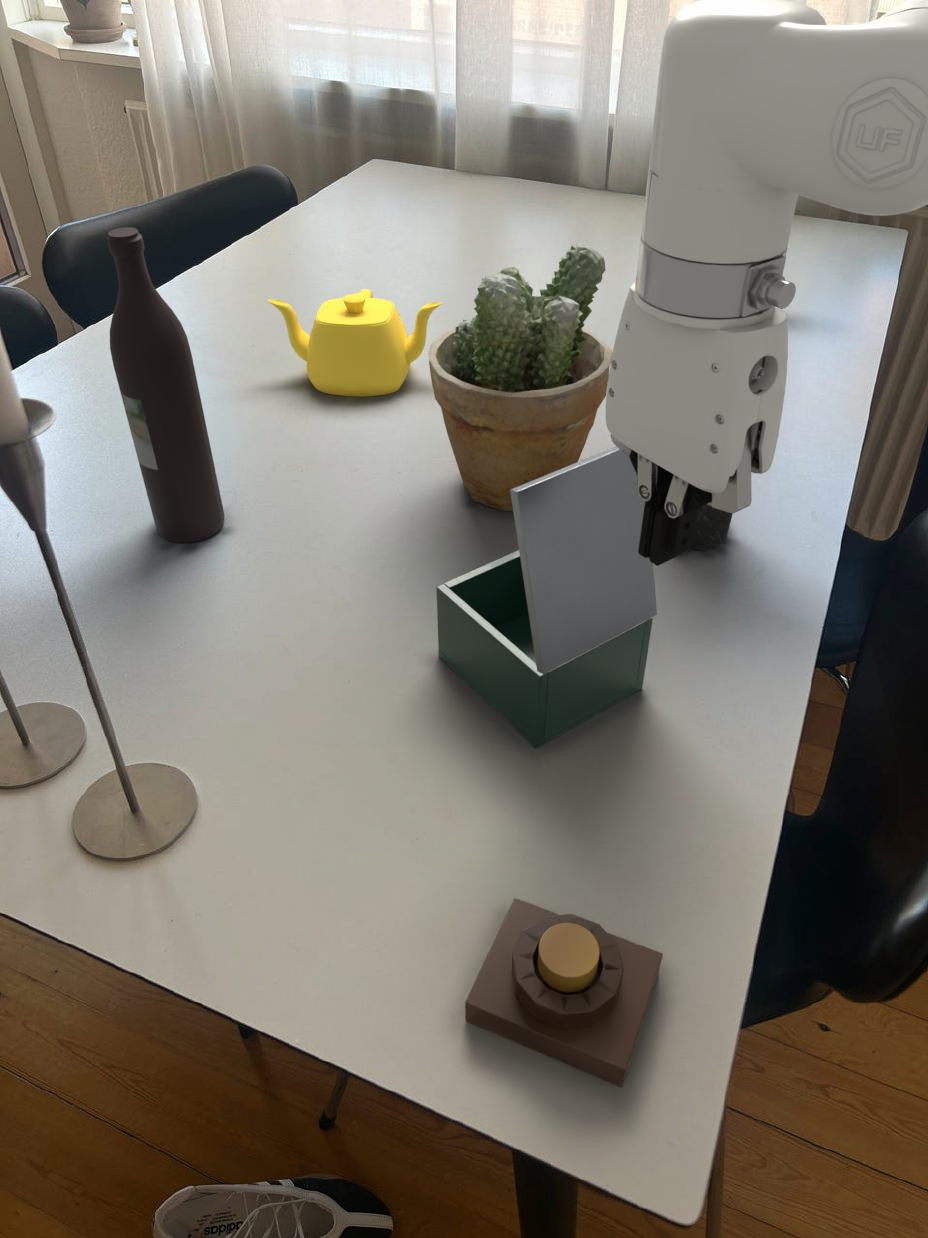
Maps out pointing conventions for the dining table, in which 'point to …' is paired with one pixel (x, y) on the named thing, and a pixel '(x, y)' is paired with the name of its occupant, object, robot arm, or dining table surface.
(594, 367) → the potted plant
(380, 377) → the teapot
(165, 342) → the wine bottle
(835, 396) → the dining table surface
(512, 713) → the tin
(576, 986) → the button
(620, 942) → the button block
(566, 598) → the tin lid
